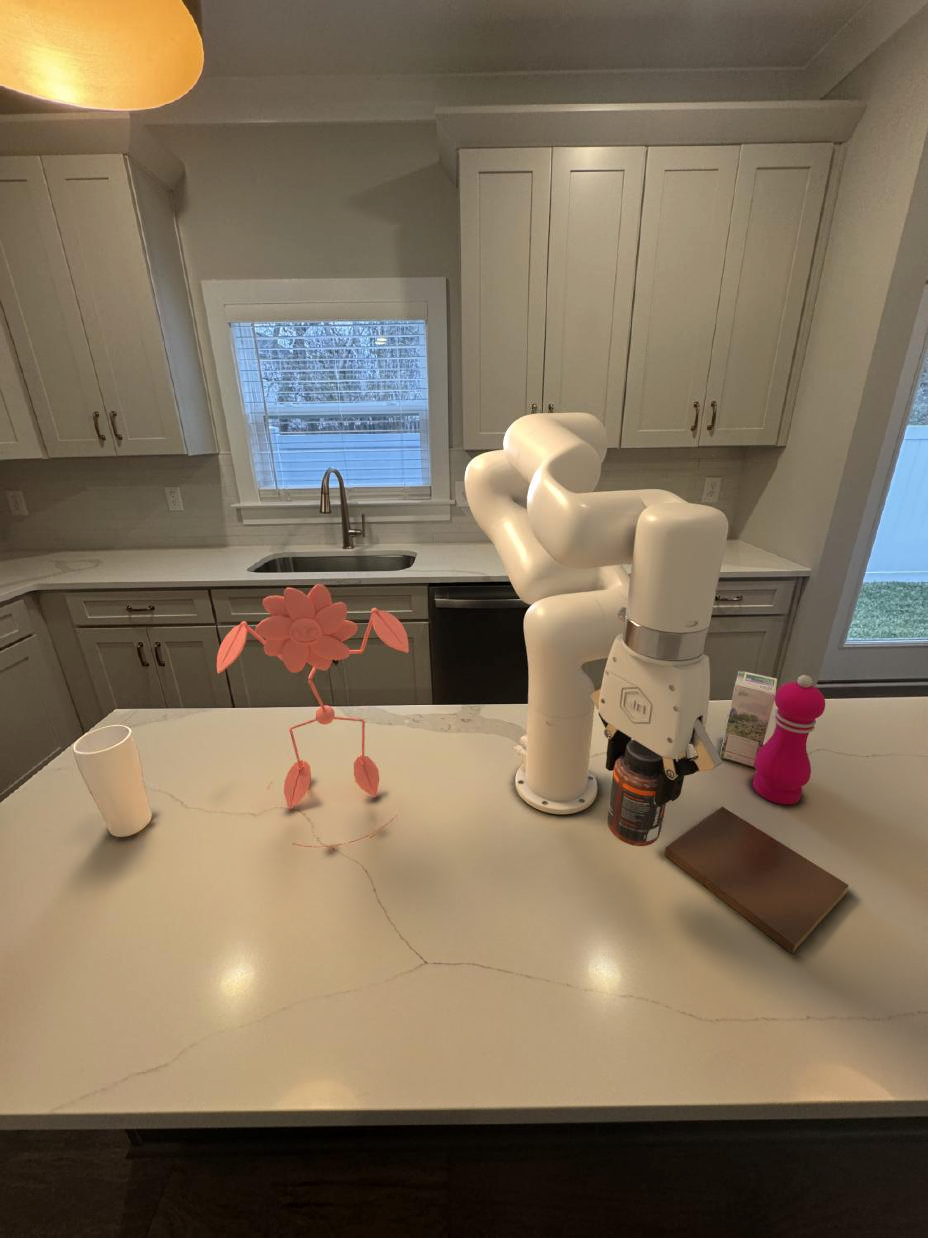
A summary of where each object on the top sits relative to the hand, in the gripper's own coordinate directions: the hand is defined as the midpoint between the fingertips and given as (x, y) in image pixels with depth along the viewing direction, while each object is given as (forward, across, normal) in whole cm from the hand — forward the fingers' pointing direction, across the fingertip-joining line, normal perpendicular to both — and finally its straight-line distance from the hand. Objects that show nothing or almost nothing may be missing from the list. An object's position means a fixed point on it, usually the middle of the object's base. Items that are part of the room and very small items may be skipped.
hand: (640, 780), depth 56 cm
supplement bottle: (+7, 0, 0) cm, 7 cm away
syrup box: (+17, -6, +37) cm, 41 cm away
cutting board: (+17, +8, +15) cm, 23 cm away
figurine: (+17, -33, -25) cm, 45 cm away
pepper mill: (+17, +2, +33) cm, 37 cm away
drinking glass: (+17, -47, -50) cm, 71 cm away
